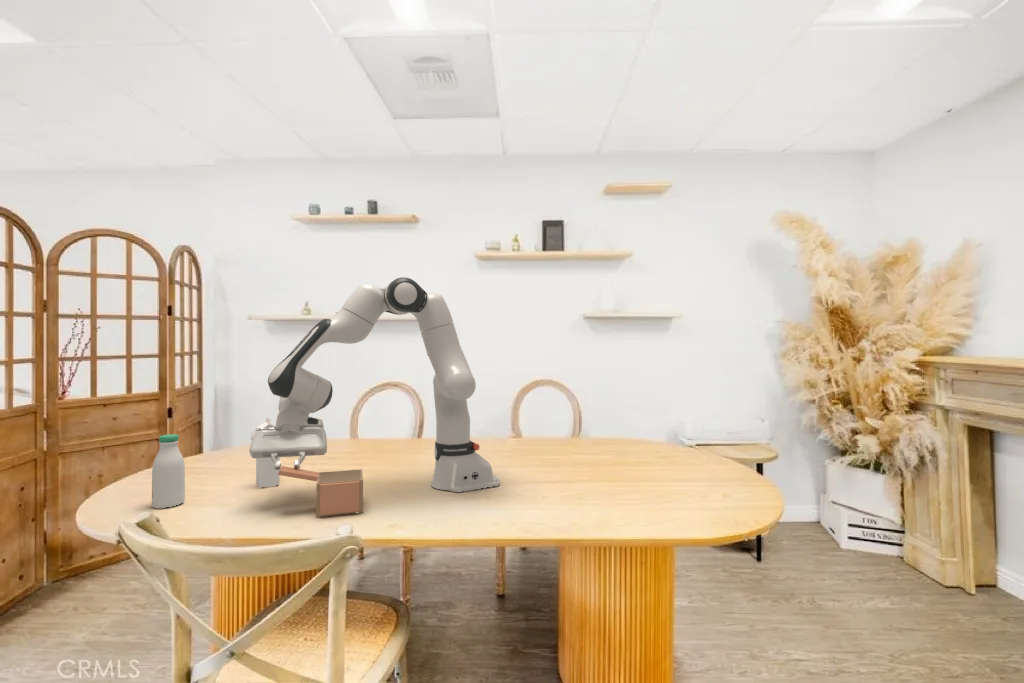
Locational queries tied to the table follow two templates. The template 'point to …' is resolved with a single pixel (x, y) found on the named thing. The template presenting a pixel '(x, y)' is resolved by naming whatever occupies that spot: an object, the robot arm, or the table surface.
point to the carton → (339, 493)
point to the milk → (266, 466)
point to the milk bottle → (168, 474)
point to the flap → (298, 473)
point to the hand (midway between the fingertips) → (287, 468)
